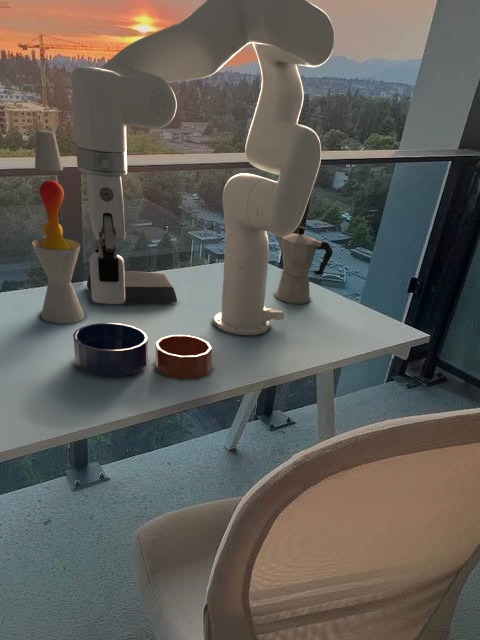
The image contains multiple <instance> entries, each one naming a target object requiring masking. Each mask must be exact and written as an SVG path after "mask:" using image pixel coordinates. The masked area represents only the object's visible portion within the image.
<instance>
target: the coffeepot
mask: <svg viewBox="0 0 480 640" xmlns="http://www.w3.org/2000/svg"><path fill="white" fill-rule="evenodd" d="M304 231H305V227H304V226H300V225H299V226H298V227H297V232H298V233H292V234H290V235H287V236H279V235H275V234H274V238H275V239H276V240H277V242H278V245H279V247H280V249H281V252H282V265H283V267H282V271H281V274H280V278H279V281H278V282H279V283H278V285H277V288H276V289H277V290H276V298H277V299H278V300H280V301H282V302H285V303H289V304H296V305H297V304H299V305H300V304H306V303H308V302H310V299H311V298H310V273H309V272H310V269H311V268H312V265H313V261H314V257H315V254H316V250H324V251H325V253H324V255H323V258H322V261H321V263H320V264H319V268H318V270H313V273H314V275H317V276H321V275H323V273H324V271H325V269H326V267H327V265H328V264H329V262H330V260H331V258H332V256H333V249H332V247H331V245H330V243H329V242H327V241H323V240H318V239H316V238H314V237H312V236H309V235H306V234H304Z"/></svg>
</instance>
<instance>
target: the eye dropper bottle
mask: <svg viewBox="0 0 480 640" xmlns="http://www.w3.org/2000/svg"><path fill="white" fill-rule="evenodd" d="M101 238H105V235H103V236H102V237H101ZM103 245H105V243H103ZM98 257H100V254H99V252H97V253H96V252H94V253H92V254H91V255H90V257H89V274H90V276H91V292H92V299H93V301H95V302H99V303H98V304H105V305H106V304H107V305H122V304H124V301H125V274H124V271H125V260H124V258H123V257H122V255H119V254H117V258H118V269H119V281H118V282H101V281H100V280H99V267H98ZM92 299H91V300H92ZM95 302H94V303H95Z"/></svg>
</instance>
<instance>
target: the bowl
mask: <svg viewBox="0 0 480 640" xmlns="http://www.w3.org/2000/svg"><path fill="white" fill-rule="evenodd" d="M72 339H73V350H74V360H75V361H74V362H75V365H76V366H77V367H78V368H79V369H81V370H83V371H85V372H86V373H90V374H92V375H96V376H101V377H111V378H113V377H115V378H116V377H117V378H118V377H124V376H125V377H126V376H130V375H133V374H136V373H139V372H141V371H142V370H144V369H145V368H146V367H147V365H148V363H149V343H148V342H149V339H148V335H147V333H146V332H144V331H143V330H142V329H140V328H138V327H135V326H133V325H128V324H124V323H116V322H98V323H91V324H87V325H83V326H81V327H80V328H78V329H75V331H74V332H73V334H72Z"/></svg>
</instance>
